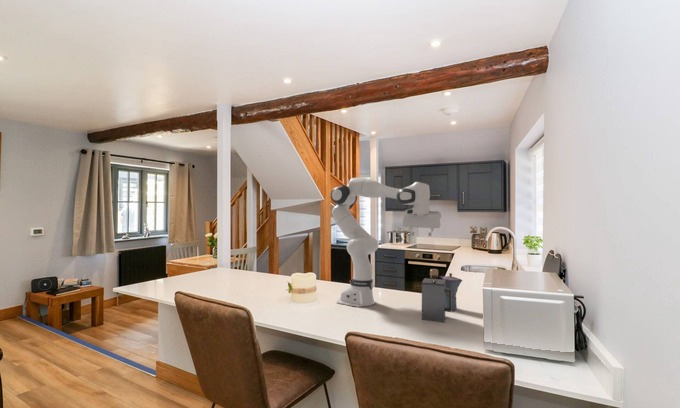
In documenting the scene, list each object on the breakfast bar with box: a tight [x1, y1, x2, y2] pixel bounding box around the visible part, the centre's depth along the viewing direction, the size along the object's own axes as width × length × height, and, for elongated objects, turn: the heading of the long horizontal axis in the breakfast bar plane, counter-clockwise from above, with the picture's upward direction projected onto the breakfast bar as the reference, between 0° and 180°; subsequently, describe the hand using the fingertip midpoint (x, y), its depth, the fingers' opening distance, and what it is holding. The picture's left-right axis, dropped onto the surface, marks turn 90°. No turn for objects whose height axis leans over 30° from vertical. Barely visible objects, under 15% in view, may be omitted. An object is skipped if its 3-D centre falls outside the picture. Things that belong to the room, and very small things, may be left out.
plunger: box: [429, 268, 439, 282], centre depth 181 cm, size 8×8×23 cm
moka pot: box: [435, 272, 463, 312], centre depth 198 cm, size 10×15×20 cm, turn 79°
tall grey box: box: [421, 277, 452, 323], centre depth 181 cm, size 14×11×19 cm
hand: (421, 235), depth 195 cm, fingers open, 8 cm apart
